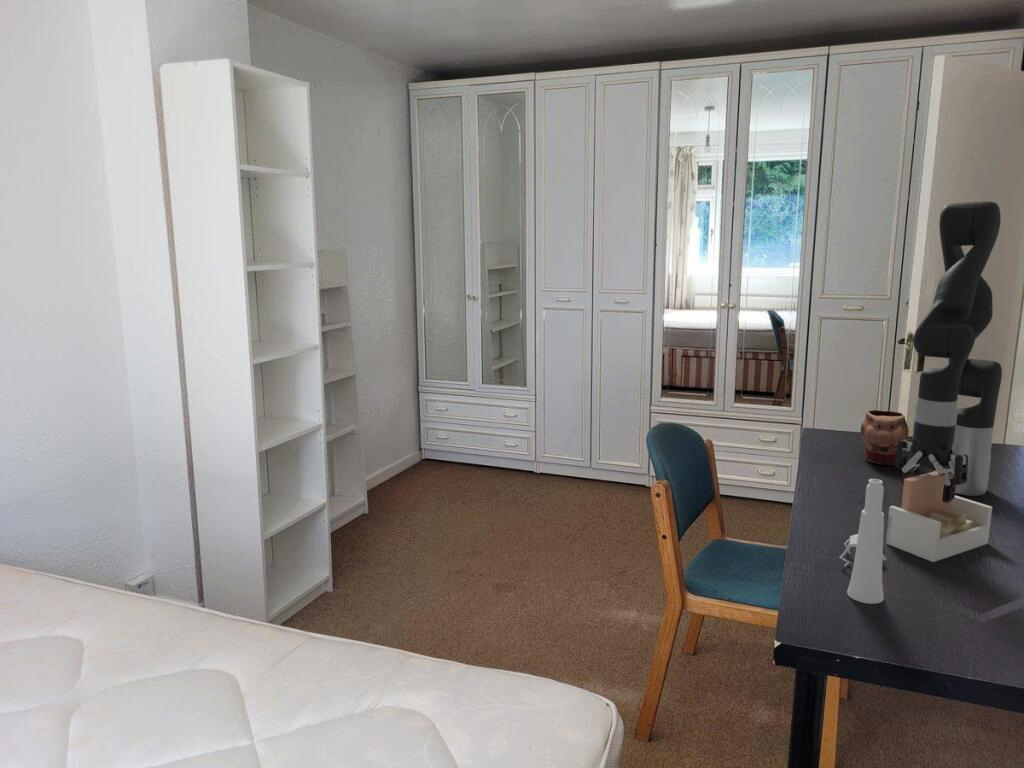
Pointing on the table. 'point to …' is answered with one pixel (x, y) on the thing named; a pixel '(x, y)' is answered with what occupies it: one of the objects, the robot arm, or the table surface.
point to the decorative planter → (883, 435)
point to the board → (924, 494)
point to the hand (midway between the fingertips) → (927, 495)
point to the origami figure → (852, 544)
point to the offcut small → (949, 518)
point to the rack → (938, 531)
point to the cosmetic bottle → (869, 549)
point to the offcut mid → (956, 529)
